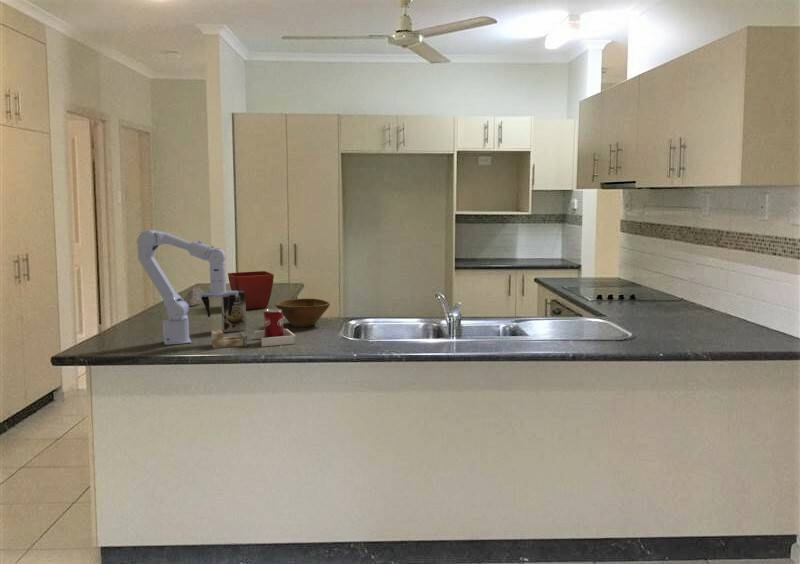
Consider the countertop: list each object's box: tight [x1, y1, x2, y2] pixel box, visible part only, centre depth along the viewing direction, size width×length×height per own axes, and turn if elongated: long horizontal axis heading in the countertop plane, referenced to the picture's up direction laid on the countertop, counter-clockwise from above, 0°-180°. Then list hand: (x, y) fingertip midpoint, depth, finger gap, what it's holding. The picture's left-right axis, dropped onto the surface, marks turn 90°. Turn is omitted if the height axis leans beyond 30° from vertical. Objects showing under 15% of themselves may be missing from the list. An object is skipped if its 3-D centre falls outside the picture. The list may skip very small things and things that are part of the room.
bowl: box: [274, 298, 331, 328], centre depth 292 cm, size 22×23×10 cm
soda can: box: [263, 308, 285, 338], centre depth 261 cm, size 7×7×12 cm
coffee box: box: [221, 291, 247, 333], centre depth 282 cm, size 9×6×16 cm
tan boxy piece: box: [210, 329, 248, 349], centre depth 255 cm, size 12×9×6 cm
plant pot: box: [227, 270, 275, 310], centre depth 339 cm, size 19×19×17 cm
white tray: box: [254, 328, 297, 347], centre depth 261 cm, size 13×15×3 cm
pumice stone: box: [183, 285, 204, 307], centre depth 347 cm, size 15×8×10 cm, turn 166°
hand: (219, 315), depth 260 cm, fingers open, 7 cm apart
